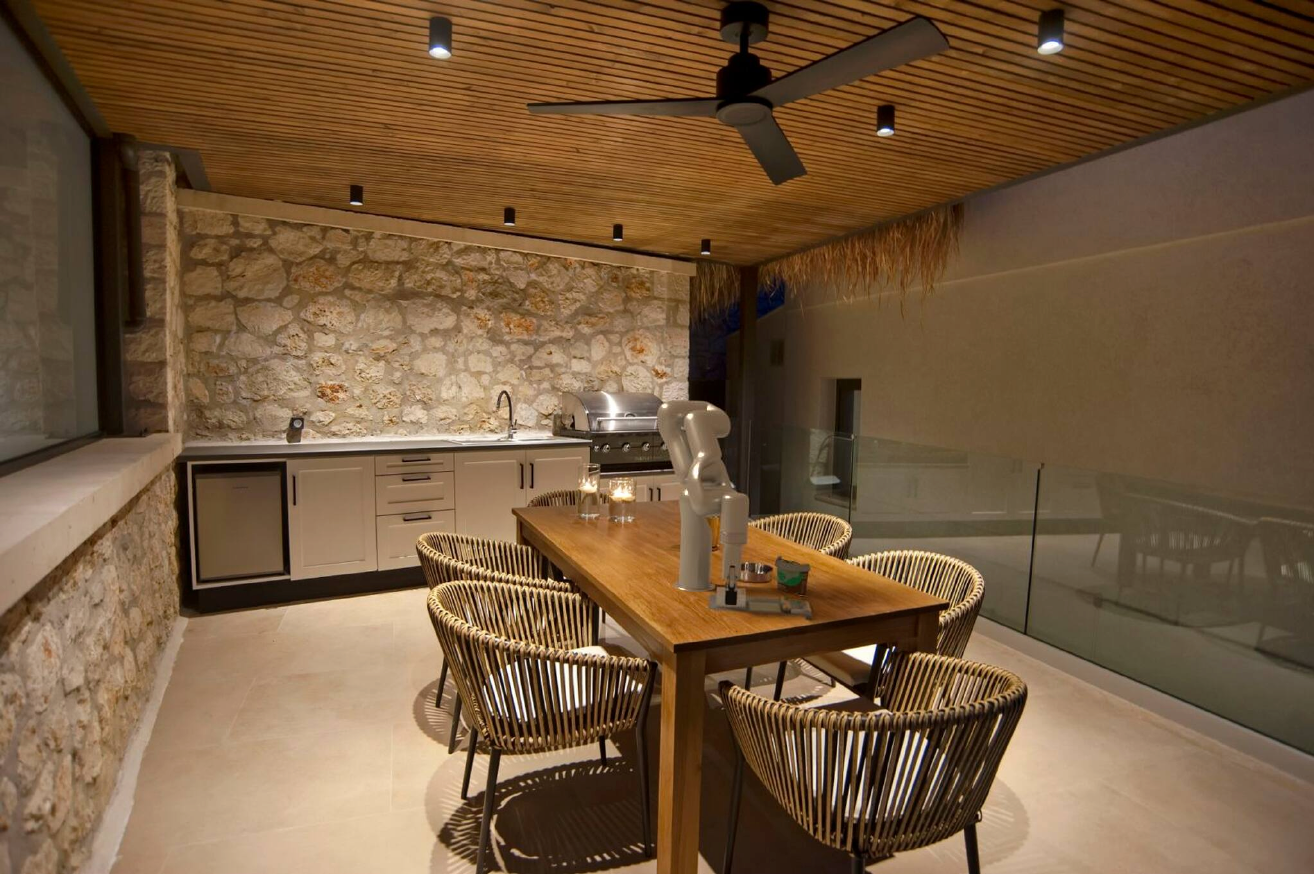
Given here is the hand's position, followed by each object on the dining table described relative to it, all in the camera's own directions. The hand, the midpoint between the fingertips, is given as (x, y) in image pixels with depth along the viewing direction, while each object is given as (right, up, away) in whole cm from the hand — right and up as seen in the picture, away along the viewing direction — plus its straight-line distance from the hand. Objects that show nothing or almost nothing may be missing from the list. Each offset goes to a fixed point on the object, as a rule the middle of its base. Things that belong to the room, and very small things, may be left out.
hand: (730, 600), depth 197 cm
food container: (+19, -2, +17) cm, 26 cm away
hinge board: (+8, -3, +1) cm, 9 cm away
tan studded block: (0, -1, 0) cm, 1 cm away
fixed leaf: (+18, -2, -2) cm, 18 cm away
